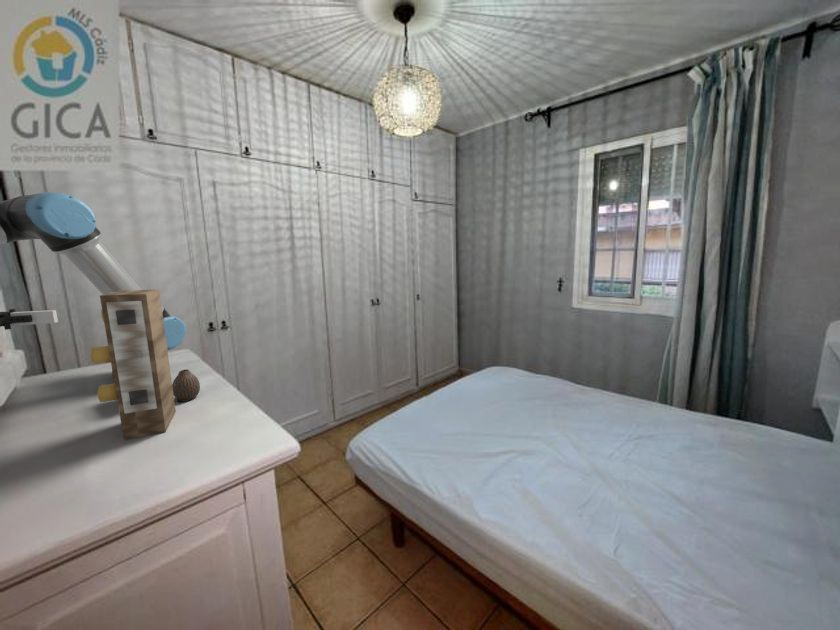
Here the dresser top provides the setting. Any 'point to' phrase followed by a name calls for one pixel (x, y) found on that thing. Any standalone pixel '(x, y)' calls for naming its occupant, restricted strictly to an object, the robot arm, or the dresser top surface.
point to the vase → (185, 386)
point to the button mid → (100, 355)
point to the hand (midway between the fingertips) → (55, 316)
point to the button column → (139, 361)
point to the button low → (107, 393)
